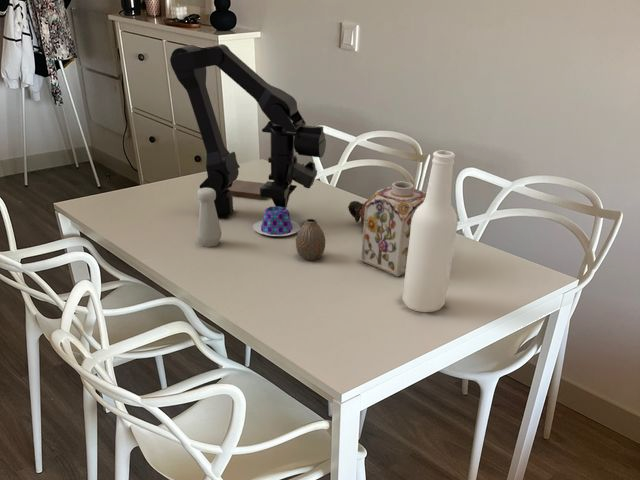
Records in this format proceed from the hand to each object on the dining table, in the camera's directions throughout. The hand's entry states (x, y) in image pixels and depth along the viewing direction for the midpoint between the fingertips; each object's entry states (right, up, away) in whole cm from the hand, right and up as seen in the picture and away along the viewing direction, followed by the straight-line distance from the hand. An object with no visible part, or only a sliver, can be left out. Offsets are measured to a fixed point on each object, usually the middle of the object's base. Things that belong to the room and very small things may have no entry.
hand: (282, 215), depth 171 cm
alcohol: (+31, -29, -33) cm, 54 cm away
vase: (+7, -15, -16) cm, 23 cm away
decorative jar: (+27, -17, -17) cm, 36 cm away
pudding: (-1, -5, -3) cm, 5 cm away
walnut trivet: (-11, +13, +20) cm, 26 cm away
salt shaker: (-17, -11, -11) cm, 23 cm away
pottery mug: (+22, -3, +1) cm, 23 cm away
